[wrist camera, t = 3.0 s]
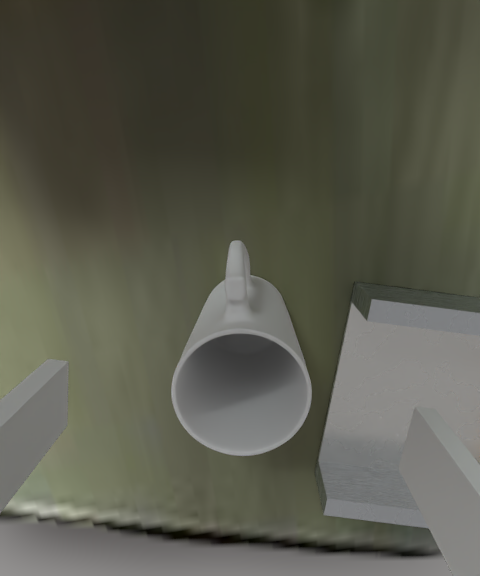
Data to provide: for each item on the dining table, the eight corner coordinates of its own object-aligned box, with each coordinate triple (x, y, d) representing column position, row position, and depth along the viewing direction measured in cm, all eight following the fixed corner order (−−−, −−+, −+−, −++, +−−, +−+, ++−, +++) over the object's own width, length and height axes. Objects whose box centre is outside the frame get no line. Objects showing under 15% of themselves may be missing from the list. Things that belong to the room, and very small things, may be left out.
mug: (290, 352, 31) (312, 454, 20) (205, 356, 32) (178, 458, 20) (287, 223, 29) (310, 254, 17) (194, 228, 29) (156, 262, 18)
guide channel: (314, 472, 34) (323, 514, 30) (354, 281, 30) (371, 299, 25) (522, 498, 34) (561, 545, 30) (593, 312, 30) (652, 335, 26)
